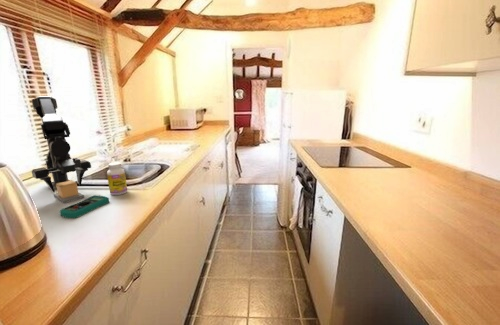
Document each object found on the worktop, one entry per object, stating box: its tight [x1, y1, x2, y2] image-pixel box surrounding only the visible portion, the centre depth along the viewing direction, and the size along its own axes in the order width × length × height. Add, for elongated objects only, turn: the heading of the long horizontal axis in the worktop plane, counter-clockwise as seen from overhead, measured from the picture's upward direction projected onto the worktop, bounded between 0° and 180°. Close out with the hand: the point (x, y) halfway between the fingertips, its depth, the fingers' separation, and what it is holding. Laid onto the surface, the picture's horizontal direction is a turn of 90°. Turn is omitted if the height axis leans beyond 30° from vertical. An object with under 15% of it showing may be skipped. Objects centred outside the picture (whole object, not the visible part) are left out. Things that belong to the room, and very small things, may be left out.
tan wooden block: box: [55, 179, 80, 198], centre depth 104 cm, size 6×6×5 cm
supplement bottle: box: [106, 161, 128, 196], centre depth 107 cm, size 7×7×13 cm
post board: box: [53, 191, 85, 204], centre depth 105 cm, size 12×7×4 cm, turn 52°
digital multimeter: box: [59, 195, 110, 219], centre depth 93 cm, size 7×15×3 cm, turn 162°
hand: (67, 188), depth 104 cm, fingers open, 9 cm apart
